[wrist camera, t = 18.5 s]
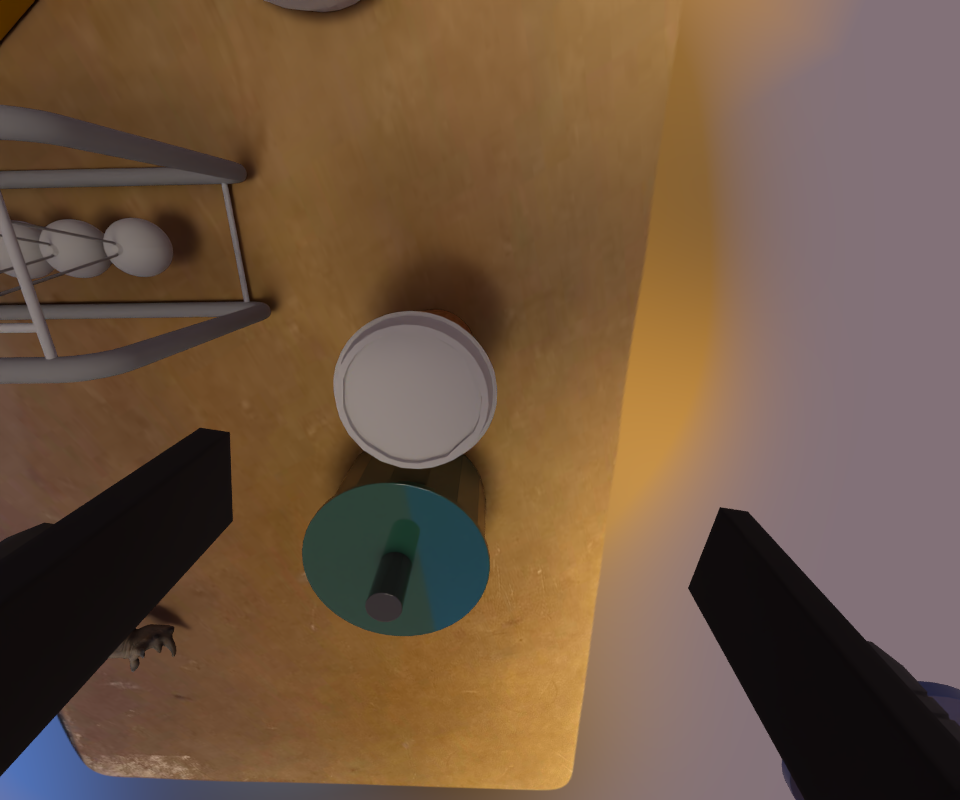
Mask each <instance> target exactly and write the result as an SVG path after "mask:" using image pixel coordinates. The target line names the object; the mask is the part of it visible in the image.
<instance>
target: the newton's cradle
mask: <svg viewBox="0 0 960 800" xmlns="http://www.w3.org/2000/svg"><path fill="white" fill-rule="evenodd" d="M0 140H16V141H28V142H37V143H46V144H53V145H59V146H64V147H69V148H74V149H79V150H84V151H89V152H94V153H99V154H104V155H109V156H115V157H120V158H125V159H130V160H135V161H140V162H145V163H150V164H155V165H160V166H165V167H159V168H116V169H73V170H30V171H0V189H13V188H58V187H102V186H147V185H192V184H222V189H223V195H224V200H225V205H226V210H227V215H228V220H229V226H230V231H231V236H232V241H233V246H234V252H235V257H236V262H237V267H238V272H239V277H240V283H241V288H242V293H243V298H244V302H182V303H115V304H48V305H40V303H39V300H38V298H37V295H36V292H35V289H34V286H33V285H35V284H38V283H41V282H44V281H47V280H50V279H53V278H55V277H58V276H61V275H64V274H66V275H69V276H73V277H78V278H90V277H95V276H98V275H100V274H102V273H103V272H105V271H106V270H107V269H108V268H109V267H110V265H111V263H113V264H114V265H115V266H116V267H118V268H119V269H120V270H122V271H124V272H126V273H128V274H131V275H134V276H139V277H150V276H155V275H158V274H160V273H162V272H163V271H165V270H166V269H167V268H168V267H169V265H170V263H171V261H172V258H173V247H172V244H171V241H170V239H169V238H168V236H167V235H166V234H165V233H164V232H163V231H162V230H161V229H160V228H159V227H158V226H156V225H155V224H153V223H151V222H149V221H147V220H143V219H139V218H125V219H121V220H118V221H116V222H114V223H113V224H111V225H110V226H109V227H108V229H107V230H106V232H105V234H103V233H102V232H101V231H100V230H99V229H97V228H96V227H95V226H93V225H91V224H89V223H86V222H83V221H80V220H74V219H64V220H58V221H55V222H53V223H50V224H49V225H48V226H46V227H42V226H37V225H33V224H30V223H27V222H23V221H15V220H11V219H10V217H9V214H8V211H7V208H6V205H5V202H4V199H3V196H2V193H1V191H0V274H1V273H6V274H8V275H10V276H13V277H17V279H18V282H19V285H20V286H18V287H15V288H12V289H9V290H6V291H3V292H0V296H2V295H5V294H8V293H11V292H14V291H17V290H20V289H21V290H22V293H23V296H24V299H25V301H26V304H27V305H0V320H21V319H32V321H33V323H0V333H34V332H37V335H38V338H39V341H40V344H41V346H42V349H43V352H44V355H45V357H14V358H0V384H7V383H67V382H79V381H87V380H94V379H100V378H105V377H110V376H114V375H119V374H123V373H126V372H129V371H132V370H135V369H138V368H140V367H143V366H145V365H148V364H150V363H153V362H156V361H158V360H161V359H163V358H166V357H169V356H171V355H174V354H176V353H179V352H181V351H184V350H187V349H189V348H192V347H194V346H197V345H200V344H202V343H205V342H207V341H210V340H212V339H215V338H218V337H220V336H223V335H225V334H228V333H231V332H233V331H236V330H238V329H241V328H244V327H246V326H249V325H251V324H254V323H256V322H259V321H262V320H264V319H266V318H268V317H269V316H270V314H271V310H270V307H269V306H268V305H267V304H265V303H262V302H250V300H249V294H248V289H247V284H246V278H245V273H244V268H243V263H242V257H241V252H240V247H239V241H238V236H237V231H236V226H235V220H234V215H233V210H232V204H231V199H230V194H229V188H228V184H232V183H240V182H243V181H244V180H245V179H246V177H247V172H246V169H245V168H244V167H243V166H242V165H241V164H239V163H236V162H233V161H229V160H225V159H222V158H218V157H214V156H210V155H207V154H203V153H199V152H196V151H192V150H188V149H185V148H181V147H177V146H174V145H170V144H166V143H163V142H159V141H155V140H151V139H148V138H144V137H140V136H137V135H133V134H129V133H126V132H122V131H118V130H115V129H111V128H107V127H104V126H100V125H96V124H92V123H89V122H85V121H81V120H78V119H74V118H70V117H67V116H63V115H59V114H55V113H51V112H46V111H41V110H35V109H29V108H23V107H15V106H6V105H0ZM54 269H56V270H58V271H60V273H57V274H54V275H51V276H48V277H45V278H42V279H39V280H36V281H33V282H32V280H31V279H34V278H40V277H43V276H46V275H48V274H49V273H51V272H52V271H53V270H54ZM163 317H217V318H214V319H211V320H208V321H204V322H201V323H198V324H195V325H192V326H188V327H185V328H182V329H179V330H176V331H172V332H169V333H166V334H163V335H160V336H156V337H153V338H150V339H147V340H144V341H140V342H137V343H134V344H131V345H128V346H124V347H121V348H117V349H114V350H109V351H104V352H99V353H92V354H85V355H77V356H66V357H58V355H57V353H56V350H55V347H54V344H53V341H52V338H51V335H50V332H49V329H48V326H47V324H46V321H45V319H92V318H163Z"/></svg>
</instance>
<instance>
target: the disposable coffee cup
mask: <svg viewBox="0 0 960 800" xmlns="http://www.w3.org/2000/svg"><path fill="white" fill-rule="evenodd" d="M334 395H335V400H336V406H337V409H338V413H339V416H340V419H341V421H342V423H343V425H344V427H345V428H346V430H347V432H348V434H349V435H350V436H351V437H352V438H353V440H354V441H355V442H356V443H357V444H358V445H359V446H360V447H361V448H362V449H363V450H364V451H366V452H367V453H369V454H371V455H372V456H374V457H375V458H377V459H378V460H380V461H382V462H385V463H388V464H391V465H395V466H398V467H401V468H412V469H423V468H431V467H435V466H438V465H442V464H445V463H447V462H449V461H452V460H454V459H455V458H457V457H458V456H460V455H462V454H464V453H465V452H467V451H468V450H469V449H471V448H472V447H473V446H474V445H475V444H476V443H477V442H478V441H479V440H480V439H481V437H482V436H483V435H484V434H485V432H486V431H487V429H488V427H489V425H490V423H491V421H492V418H493V416H494V412H495V408H496V404H497V385H496V378H495V373H494V370H493V366H492V364H491V362H490V360H489V358H488V356H487V354H486V352H485V351H484V349H483V348H482V347H481V345H480V344H479V343H478V341H477V340H476V339H475V338H474V337H473V335H472V332H471V331H470V329H469V327H468V326H467V325H466V324H465V323H464V322H463V321H462V320H461V319H460V318H459V317H458V316H456V315H454V314H452V313H450V312H448V311H444V310H437V309H431V310H425V311H422V312H417V311H403V312H396V313H391V314H387V315H384V316H382V317H379V318H377V319H374V320H373V321H371V322H369V323H367V324H366V325H365V326H363V327H362V328H360V329H359V330H358V331H357V332H356V333H355V334H354V335H353V336H352V337H351V338H350V339H349V340H348V342H347V343H346V345H345V347H344V348H343V350H342V351H341V354H340V356H339V359H338V362H337V364H336V367H335V374H334Z"/></svg>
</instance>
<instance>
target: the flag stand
mask: <svg viewBox="0 0 960 800" xmlns="http://www.w3.org/2000/svg"><path fill="white" fill-rule="evenodd" d="M264 1H267V2H270V3H272V4H275V5H278V6H281V7H284V8H289V9H298V10H307V11H308V10H309V11H318V12H328V11H335V10H341V9H343V8H346V7H348V6H351V5H353V4H356V3H357V2H358V1H360V0H264Z"/></svg>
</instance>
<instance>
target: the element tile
mask: <svg viewBox="0 0 960 800" xmlns="http://www.w3.org/2000/svg"><path fill="white" fill-rule="evenodd" d="M34 1H35V0H0V41H1V40H2V39H3V37H4V36H5V35H6V34H7V33H8V32H9V30H10V29H11V28H12V27H13V26H14V25H15V23H16V22H17V21H18V20H19V19H20V18H21V16H22V15H23V14H24V13H25V12H26V11H27V9H28V8H29V7H30V6H31V5H32V4H33V2H34Z"/></svg>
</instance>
